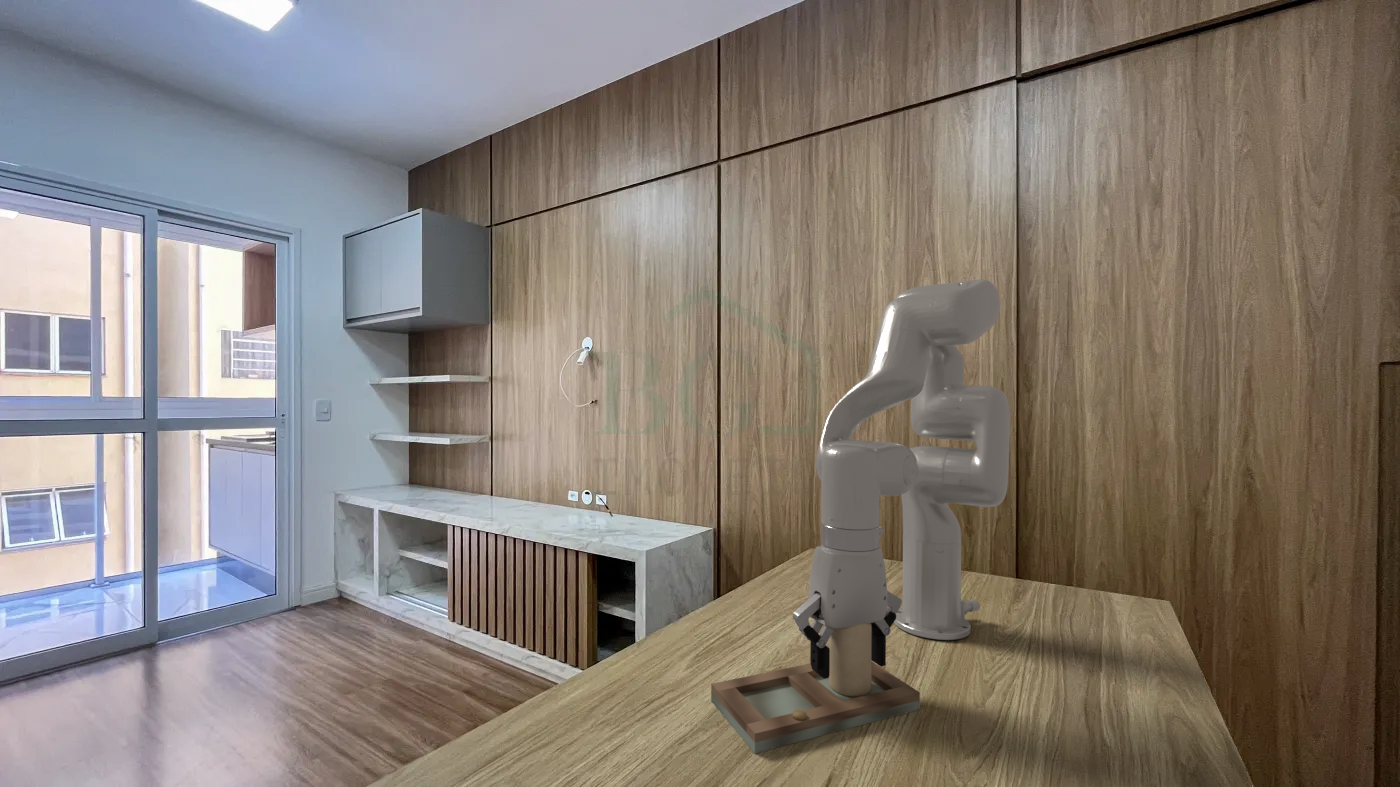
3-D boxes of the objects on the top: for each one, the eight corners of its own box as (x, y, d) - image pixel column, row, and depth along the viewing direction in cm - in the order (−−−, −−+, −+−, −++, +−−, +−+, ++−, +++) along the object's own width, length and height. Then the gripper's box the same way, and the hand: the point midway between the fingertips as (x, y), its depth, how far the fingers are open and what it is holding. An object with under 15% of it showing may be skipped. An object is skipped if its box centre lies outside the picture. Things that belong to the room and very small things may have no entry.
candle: (872, 699, 73) (873, 621, 73) (828, 694, 74) (829, 617, 74) (869, 679, 78) (870, 606, 78) (828, 674, 79) (829, 603, 79)
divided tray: (859, 668, 84) (859, 650, 84) (919, 709, 73) (919, 689, 73) (711, 700, 75) (711, 680, 75) (754, 753, 64) (754, 730, 64)
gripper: (882, 526, 83) (881, 646, 83) (779, 536, 76) (777, 666, 76) (920, 538, 76) (919, 668, 76) (810, 550, 69) (809, 693, 69)
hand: (848, 667), depth 76 cm, fingers open, 8 cm apart
